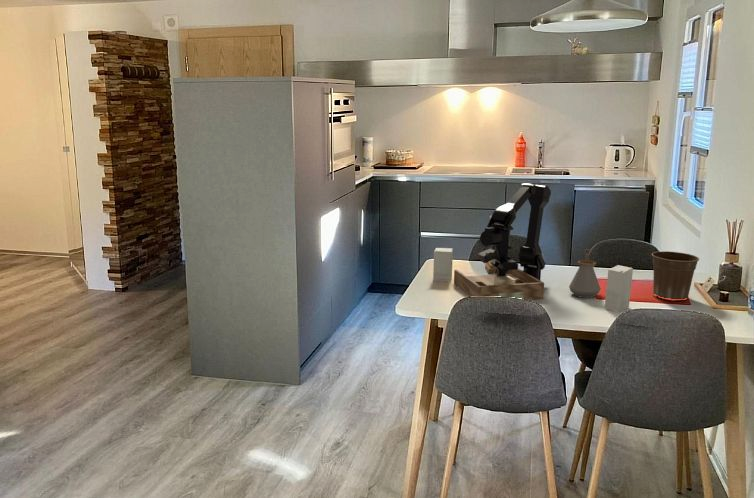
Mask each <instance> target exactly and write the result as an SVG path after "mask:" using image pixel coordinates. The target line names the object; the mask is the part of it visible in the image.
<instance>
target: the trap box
mask: <svg viewBox="0 0 754 498" xmlns="http://www.w3.org/2000/svg"><path fill="white" fill-rule="evenodd" d="M453 270H454V272H453V285H454V286H456V287H457V288H458V287H459V288H458V289H459V290H461V291H462V292H464V294H466V293H467V294H468V295H467V294H466V295H467V296H469V297H470V296H501V297H515V298H522V299H526V300H538V299H539V300H540V299H544V293H545V282H544V281H542V280H541V279H540V280H538V279H536V278H535V277H533V276H531V275H529V274H527V273H526V272H524V271H523V270H521V268H518V269H517V270H512V274H506V275H505V276H510V277H512V278H513V279H515V284H505V285H494V277H496V276H497V275H496V274H481V275H465V274H464V273H463V272H461V271H459V269H453Z"/></svg>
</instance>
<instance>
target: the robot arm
mask: <svg viewBox="0 0 754 498" xmlns="http://www.w3.org/2000/svg"><path fill="white" fill-rule="evenodd" d="M551 194H552V191H551V189H550V187H549V186H548V185H542V184H533V183H528V182H527V183H525V182H524V183H521V185H520V188H519V189H518V190H517V191H516V192H515V193H514V195H513V196H512V197H511V198H510V199H509V200H508V201H507V202H506V203H505V204H503V205H500V206H498V207H497V208H495V210H494V211H493V212H492V214H491V215H492V217H491V219H490V218H489V221H488V224H487V225H486V227H484V231H482V232H481V234H480V235H479V241H480V243H481V244H482V246H483V247H490V248H489V249H486V250H483V251H481V252H478V257H479V260H480V261H481V262H482V263H483V264H486V263H488V262H489V261H491V260H492V263H490V264H491V265H492V266H493V267H494V268H495V271H496V274H495V275H497V276H505V275H506V273H507V272H508V270H517V269H519V265H520V267H522V268H523V270H522V271H524V272H526V273H527V274H529V275H531V276H533V277H535V278H536V279H538V280H540V281H541V276H542V275H541V274H542V270H544V269H545V267H546V262H545V260H544V258H543V256H542V253H543V252H542V249H541V246H540V244H539V243H540V235H541V229H542V224H543V223H542V221H543V216H544V215H543V214H544V208H545V207H547V205H548V203H549V202H550V198H551ZM527 201H528V203H529V205H530V212H529V217H528V219H529V220H528V224H527V225H528V226H527V233H526V240H525V243H524V244H523V245H521V246H519V247H520V248H519V254H518V261H519V263H518V262H517V261H515V260H513V259H512V258H511V257H512V256H510V250H511V249H512V246H511V245H510V244H511V243H510V242H511V241H510V240H511V231H513V230H514V227H513V226H512V225H513V223H514V222H515V221H516V218H517V212H518V211H519V210H520V208H522V207H523V205H524V204H525V203H526V202H527ZM498 224H500V225H498Z"/></svg>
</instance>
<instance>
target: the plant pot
mask: <svg viewBox="0 0 754 498" xmlns="http://www.w3.org/2000/svg"><path fill="white" fill-rule="evenodd" d="M651 256H652V265H653V280H652V281H653V285H652V286H653V287H652V294H653V293H654V294H656V295H658V296H660V297H664V298H671V299H685V298H689V294H690V290H691V285H692V281H693V278H694V277H693V276H694V273H695V270H696V269H697V265H698V262H699V261H700V258H699V257H698V256H696V255H694V254H690V253H685V252H678V251H669V250H668V251H667V250H666V251H664V250H663V251H653V252H652V253H651Z"/></svg>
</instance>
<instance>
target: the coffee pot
mask: <svg viewBox="0 0 754 498" xmlns="http://www.w3.org/2000/svg"><path fill="white" fill-rule="evenodd" d="M591 252H592V251H591V250H590V249H589V248H586V249H585V251H584V253H585V255H584V256H585V258H584V260H578V261H577V263H578V266H579V267H578V269H577V271H576V272H575V274H574V276H573V278H572V280H571V282H570V283H569V286H568V287H569V290H570V292H571V293H572V294H573V296H575V297H578V298H584V299H588V298H589V299H591V298H595V296H597V295H598V294H599V293H600V292H601V290H602V289H601V286H600V284H599V280H598V277H597V275H596V272H595V269H594V268H595V266H596V265H597V262H595V261H593V260H592V261H591V260H589V257H590V255H589V253H591Z"/></svg>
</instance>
